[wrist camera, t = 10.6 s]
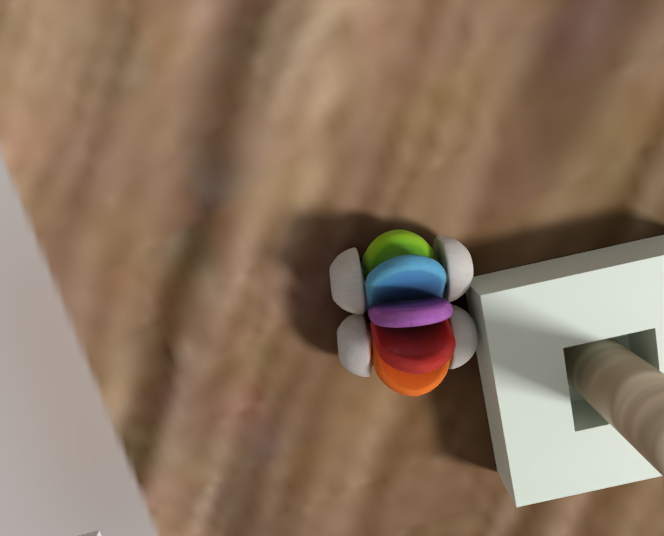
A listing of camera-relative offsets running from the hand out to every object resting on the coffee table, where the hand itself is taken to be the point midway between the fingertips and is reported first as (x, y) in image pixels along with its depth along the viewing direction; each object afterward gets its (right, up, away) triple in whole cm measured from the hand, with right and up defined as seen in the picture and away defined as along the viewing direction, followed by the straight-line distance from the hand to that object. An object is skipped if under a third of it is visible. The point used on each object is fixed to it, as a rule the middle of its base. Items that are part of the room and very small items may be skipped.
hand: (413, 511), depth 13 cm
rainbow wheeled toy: (+3, +3, +26) cm, 27 cm away
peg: (+15, -1, +27) cm, 31 cm away
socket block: (+15, -1, +27) cm, 31 cm away
